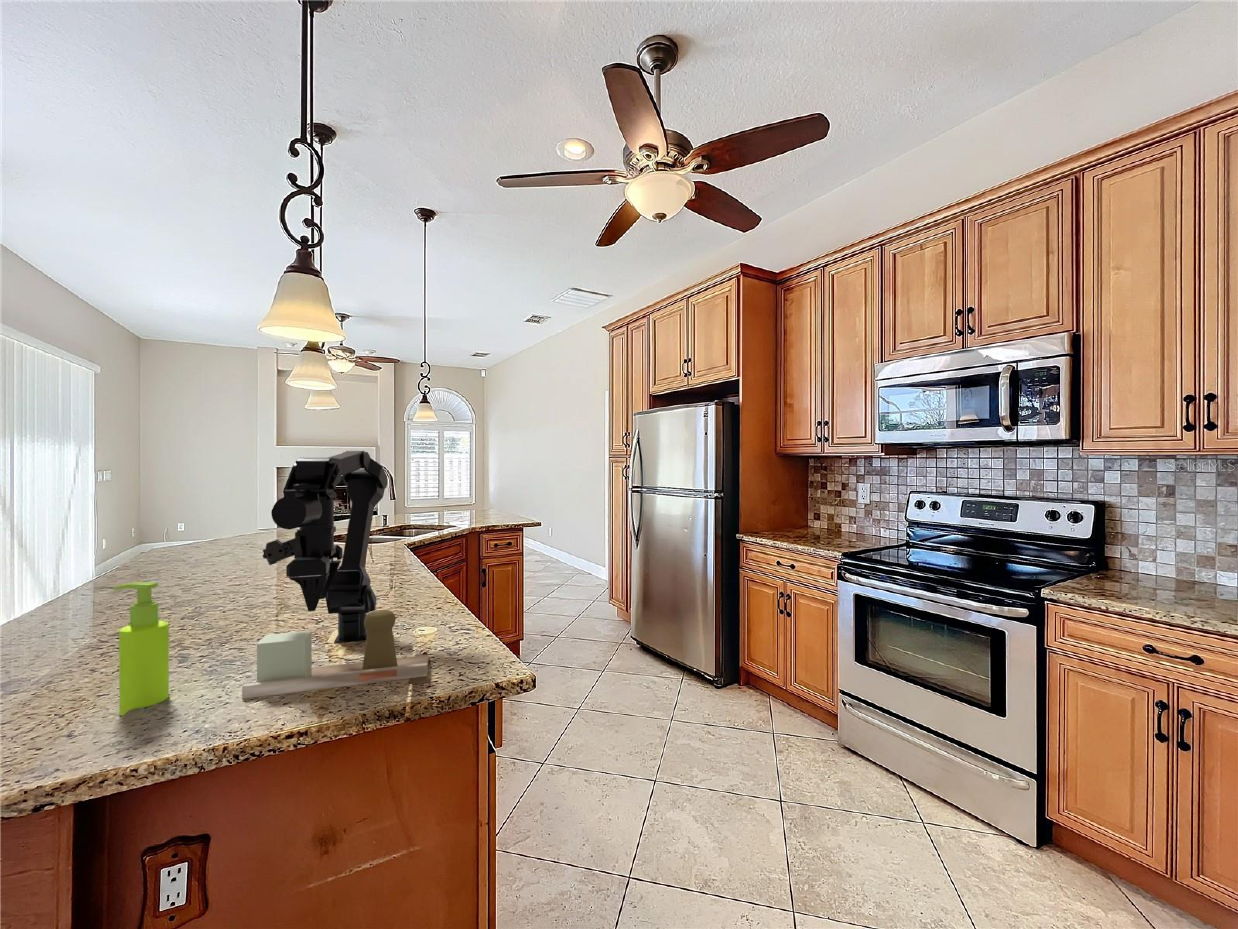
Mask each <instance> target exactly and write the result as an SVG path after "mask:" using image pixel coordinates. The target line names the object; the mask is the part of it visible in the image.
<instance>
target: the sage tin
mask: <svg viewBox="0 0 1238 929" xmlns="http://www.w3.org/2000/svg"><path fill="white" fill-rule="evenodd" d="M312 638H313V637H312V630H305V631H293V632H282V633H273V634H271V633H270V634H265V635H264V636H263V637H262V638H261V639H260V640H259V641H258V642H257V643H256V681H257V682H265V681H273V680H282V679H291V678H299V677H308V676H312V668H313V667H312V664H313V663H312V662H313V660H312V657H313V656H312Z"/></svg>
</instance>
